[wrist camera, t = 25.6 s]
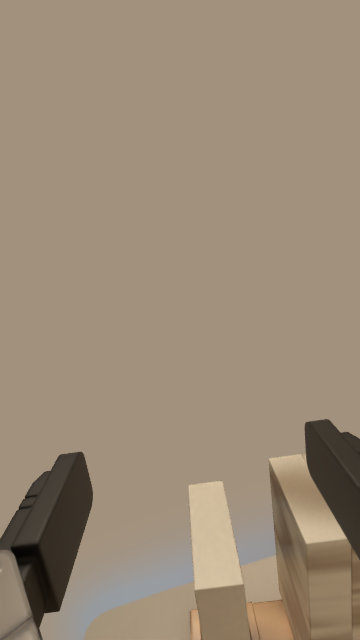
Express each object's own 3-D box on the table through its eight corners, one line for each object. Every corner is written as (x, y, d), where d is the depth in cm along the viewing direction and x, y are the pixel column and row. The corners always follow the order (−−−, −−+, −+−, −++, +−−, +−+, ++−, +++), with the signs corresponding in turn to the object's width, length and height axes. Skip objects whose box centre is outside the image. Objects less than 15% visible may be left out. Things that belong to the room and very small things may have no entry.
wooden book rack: (426, 761, 23) (442, 575, 19) (198, 788, 24) (162, 610, 19) (342, 588, 35) (339, 448, 31) (190, 607, 35) (166, 471, 31)
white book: (263, 752, 24) (244, 584, 20) (222, 757, 24) (194, 590, 20) (239, 616, 33) (222, 480, 29) (209, 620, 33) (187, 484, 29)
